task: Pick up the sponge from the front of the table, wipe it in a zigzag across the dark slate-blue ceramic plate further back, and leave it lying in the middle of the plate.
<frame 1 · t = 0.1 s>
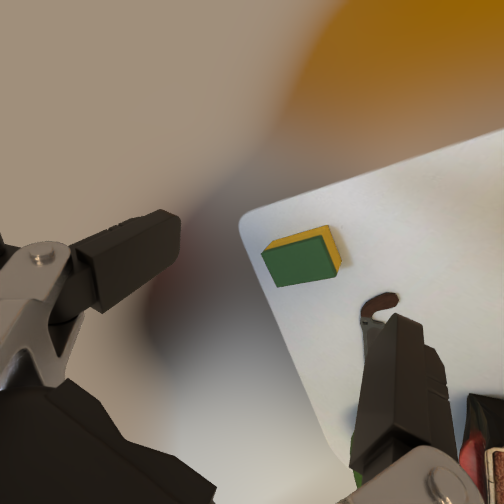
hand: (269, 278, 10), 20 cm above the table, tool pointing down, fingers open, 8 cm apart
sponge: (305, 250, 32), on the table
knife: (380, 340, 33), on the table
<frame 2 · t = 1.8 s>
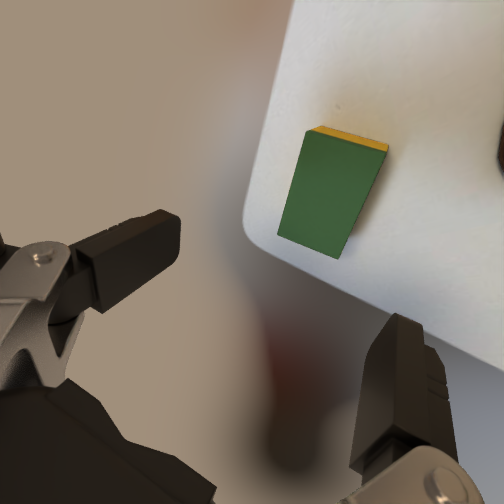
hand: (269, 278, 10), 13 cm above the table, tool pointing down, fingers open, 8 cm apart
sponge: (334, 186, 20), on the table
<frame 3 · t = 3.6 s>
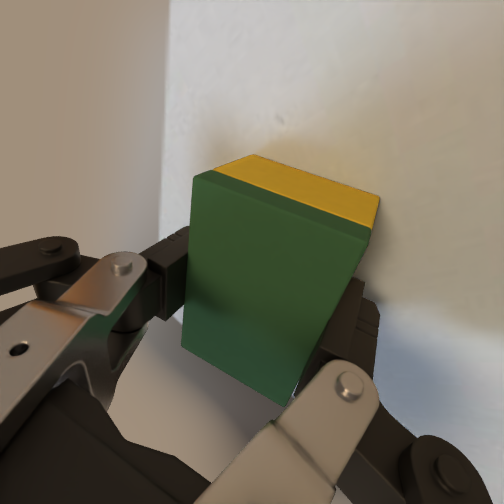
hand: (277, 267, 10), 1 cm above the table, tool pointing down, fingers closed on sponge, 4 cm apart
sponge: (285, 257, 11), on the table, touching gripper
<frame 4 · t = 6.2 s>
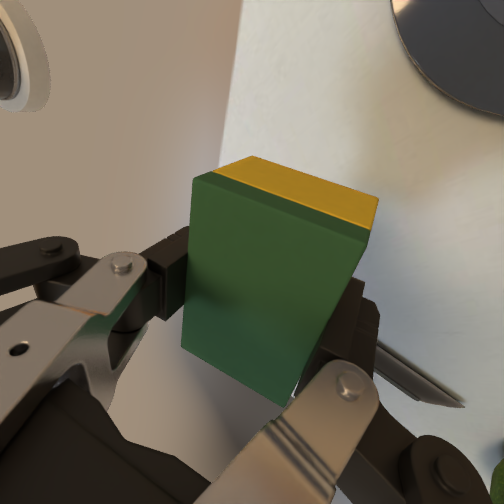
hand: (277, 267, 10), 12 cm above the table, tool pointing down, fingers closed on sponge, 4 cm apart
sponge: (284, 258, 11), point 11 cm above the table, touching gripper
knife: (385, 354, 25), on the table
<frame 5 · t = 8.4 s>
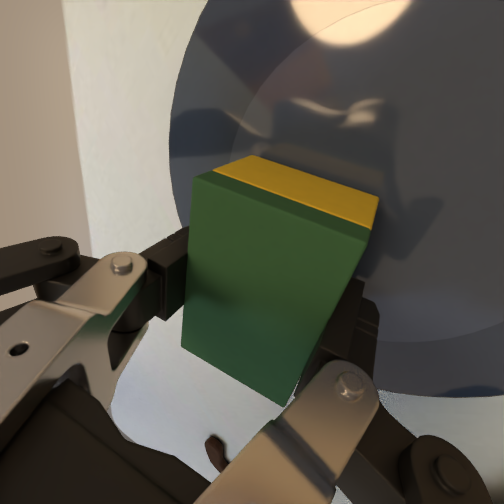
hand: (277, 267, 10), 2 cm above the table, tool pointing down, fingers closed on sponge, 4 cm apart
sponge: (284, 258, 11), point 2 cm above the table, touching gripper
plate: (373, 201, 10), on the table
knife: (267, 488, 25), on the table
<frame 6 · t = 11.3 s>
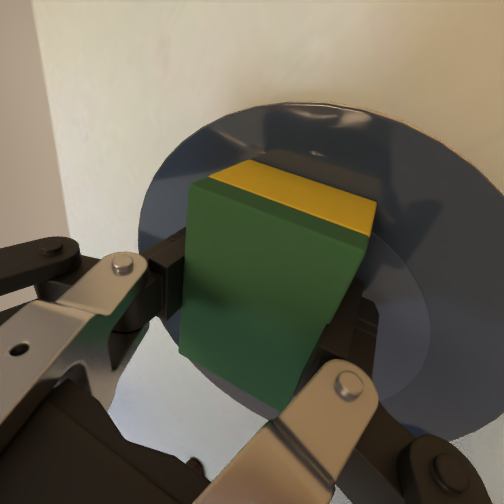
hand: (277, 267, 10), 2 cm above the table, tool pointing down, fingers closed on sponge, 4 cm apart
sponge: (282, 262, 11), point 1 cm above the table, touching gripper
plate: (293, 301, 13), on the table
when the fingers open (2 cm above the table, at t = 13.4 s): sponge stays where it is, resting on plate.
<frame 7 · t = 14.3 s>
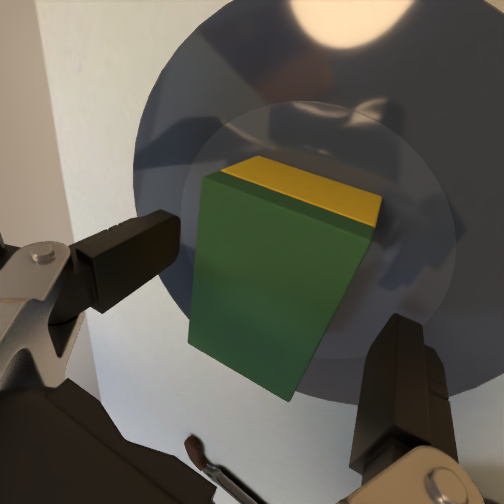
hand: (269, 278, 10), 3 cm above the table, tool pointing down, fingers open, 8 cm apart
sponge: (289, 256, 11), point 1 cm above the table, touching plate
plate: (299, 241, 12), on the table
knife: (241, 484, 27), on the table
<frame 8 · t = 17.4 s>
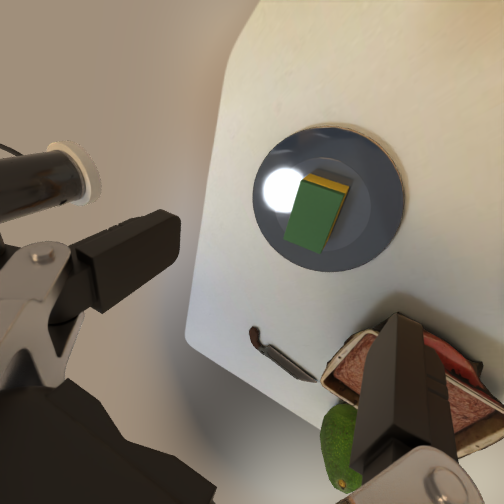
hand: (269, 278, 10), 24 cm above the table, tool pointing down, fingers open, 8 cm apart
avocado: (352, 406, 46), on the table
sponge: (318, 208, 32), point 1 cm above the table, touching plate
baking dish: (402, 355, 37), on the table
plate: (321, 204, 33), on the table
knife: (281, 355, 47), on the table
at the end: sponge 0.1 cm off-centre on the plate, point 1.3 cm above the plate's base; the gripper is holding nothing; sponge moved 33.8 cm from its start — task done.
